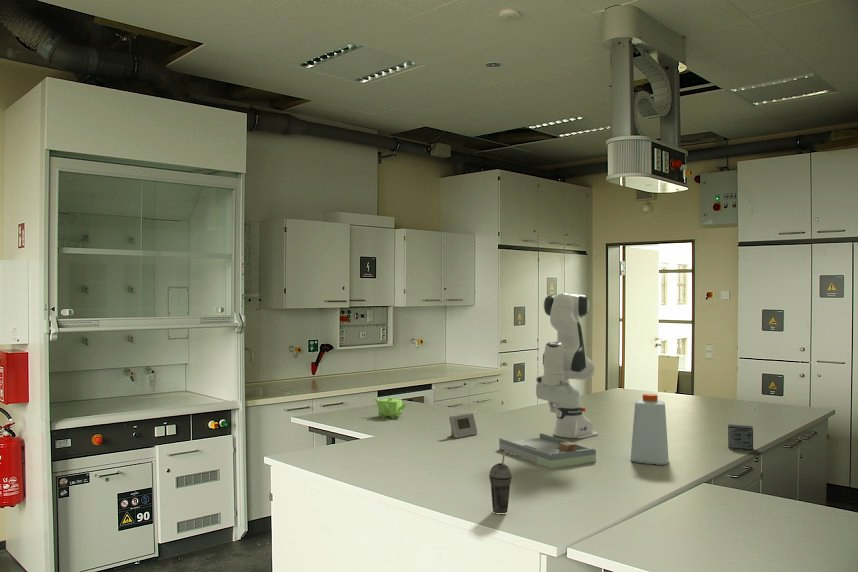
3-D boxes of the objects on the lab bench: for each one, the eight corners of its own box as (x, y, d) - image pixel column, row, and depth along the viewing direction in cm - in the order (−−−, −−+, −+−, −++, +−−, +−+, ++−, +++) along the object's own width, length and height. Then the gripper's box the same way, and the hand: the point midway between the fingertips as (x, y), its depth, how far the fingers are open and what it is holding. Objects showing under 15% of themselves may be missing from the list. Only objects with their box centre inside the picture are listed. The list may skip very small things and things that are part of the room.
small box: (753, 448, 307) (753, 425, 307) (753, 451, 301) (753, 428, 301) (728, 445, 311) (728, 423, 311) (727, 448, 305) (728, 425, 305)
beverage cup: (486, 509, 215) (487, 447, 215) (509, 508, 215) (509, 447, 215) (490, 516, 207) (491, 452, 208) (513, 516, 208) (514, 452, 208)
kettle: (372, 416, 375) (373, 396, 376) (395, 414, 382) (395, 394, 383) (384, 420, 362) (384, 400, 363) (407, 418, 369) (407, 398, 370)
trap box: (541, 444, 309) (541, 432, 309) (595, 461, 278) (595, 448, 278) (499, 449, 298) (499, 437, 298) (551, 468, 266) (551, 454, 266)
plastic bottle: (668, 458, 286) (668, 393, 286) (668, 466, 271) (669, 398, 272) (631, 455, 290) (632, 391, 291) (630, 463, 276) (630, 396, 277)
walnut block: (568, 453, 279) (568, 441, 279) (576, 456, 274) (576, 444, 274) (559, 454, 276) (559, 442, 276) (567, 457, 272) (567, 445, 272)
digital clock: (454, 439, 318) (454, 417, 318) (444, 435, 325) (444, 414, 326) (481, 436, 326) (482, 414, 326) (471, 432, 334) (471, 411, 334)
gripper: (576, 382, 276) (576, 415, 276) (544, 376, 294) (544, 407, 294) (564, 383, 273) (564, 417, 273) (533, 377, 291) (533, 409, 291)
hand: (554, 412), depth 284 cm, fingers closed
